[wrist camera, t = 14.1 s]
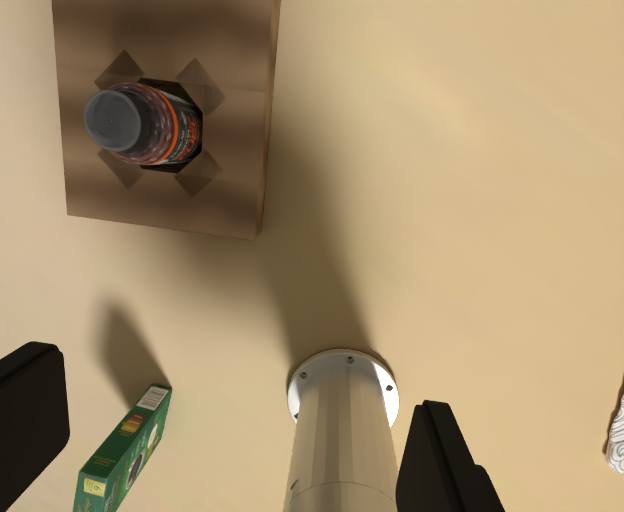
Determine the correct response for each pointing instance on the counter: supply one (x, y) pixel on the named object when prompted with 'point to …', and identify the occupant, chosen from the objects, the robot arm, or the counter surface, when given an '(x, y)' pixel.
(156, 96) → the supplement bottle
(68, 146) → the socket block
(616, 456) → the cookie jar
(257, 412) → the counter surface
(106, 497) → the coffee box
